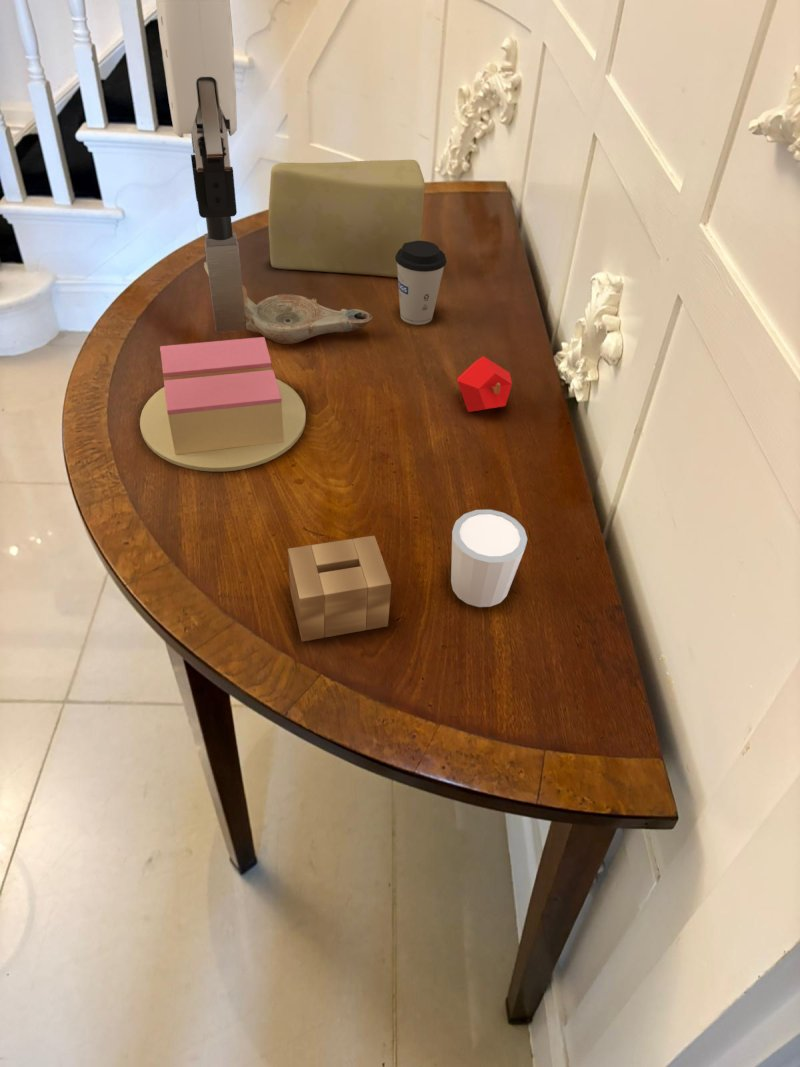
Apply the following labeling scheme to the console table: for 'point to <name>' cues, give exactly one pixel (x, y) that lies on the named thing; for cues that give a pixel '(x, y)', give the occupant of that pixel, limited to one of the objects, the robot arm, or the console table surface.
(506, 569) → the white cylinder
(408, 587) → the console table surface
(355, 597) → the knife block
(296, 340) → the oil lamp
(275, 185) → the cheese
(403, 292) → the coffee cup
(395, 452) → the console table surface
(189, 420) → the cake
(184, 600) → the console table surface
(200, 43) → the robot arm
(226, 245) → the knife
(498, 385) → the apple
